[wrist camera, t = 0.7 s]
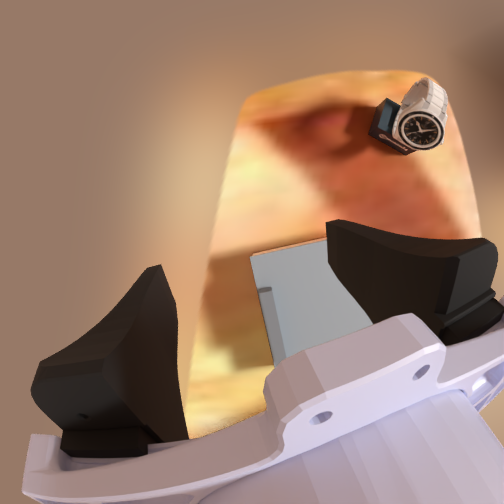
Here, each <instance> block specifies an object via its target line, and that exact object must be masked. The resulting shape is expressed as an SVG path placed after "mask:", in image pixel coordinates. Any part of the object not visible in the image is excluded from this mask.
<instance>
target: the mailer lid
mask: <svg viewBox="0 0 504 504" xmlns="http://www.w3.org/2000/svg"><path fill="white" fill-rule="evenodd" d="M250 261H251V265H252V270H253V274H254V279H255V283H256V287H257V292H258V296H259V301H260V305H261V309H262V314H263V318H264V323H265V327H266V331H267V336H268V340H269V345H270V349H271V353H272V358H273V362H274V366H275V368H276V367H277V366H278V364H279V363H280V362H281V361H282V360H284V359H286V358H288V357H290V356H292V355H294V354H296V353H298V352H300V351H302V350H305V349H308V348H311V347H314V346H317V345H320V344H323V343H326V342H329V341H331V340H334V339H337V338H340V337H343V336H345V335H348V334H351V333H353V332H356V331H358V330H361V329H364V328H366V327H369V326H371V325H373V323H372V322H371V320H370V318H369V317H368V316H367V314H366V313H365V311H364V310H363V309H362V308H361V307H360V305H359V304H358V303H357V302H356V300H355V299H354V298H353V297H352V296H351V294H350V293H349V292H348V291H347V290H346V288H345V287H344V286H343V285H342V284H341V282H340V281H339V280H338V279H337V277H336V275H335V274H334V272H333V270H332V269H331V267H330V265H329V264H328V254H327V239H326V240H322V241H317V242H313V243H308V244H304V245H299V246H295V247H290V248H286V249H281V250H277V251H272V252H268V253H263V254H259V255H254V256H250Z"/></svg>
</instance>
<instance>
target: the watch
mask: <svg viewBox="0 0 504 504" xmlns="http://www.w3.org/2000/svg"><path fill="white" fill-rule="evenodd" d="M447 99H448V97H447V93H446V91H445V90H444V89H443V88H441V87H440V86H439V85H437V84H436V83H434V82H433V81H431V80H430V79H428V78H426V77H425V78H422V79H421V80H419V81H418V82H415V84H414V85H413V86H412V87H411V89H410V90H409V91H408V93H407V94H405V96H404V99H403V100H402V102H401V103H402V105H401V106H400V105H398V104H397V103H395V102H393V101H391V100H390V99H388V98H386V99H385V100H384V101H383V102H382V103H381V104H379V105H378V106H377V109H376V112H375V115H374V118H373V121H372V124H371V127H370V130H369V133H368V135H370V136H372V137H374V138H376V139H378V140H379V141H381V142H383V143H385V144H387V145H388V146H390V147H392V148H394V149H396V150H397V151H399V152H401V153H402V154H404V155H408V154H410V153H412V152H415V151H418V150H430V149H433V148H435V147H437V146H438V145H439V144H440V145H442V144H443V142H444V139H443V138H444V134H445V131H444V129H445V125H446V121H447V114H446V110H447V104H448V100H447Z"/></svg>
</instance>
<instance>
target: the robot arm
mask: <svg viewBox="0 0 504 504" xmlns="http://www.w3.org/2000/svg"><path fill="white" fill-rule="evenodd" d="M326 235H327V254H328V264H329V265H330V267H331V269H332V270H333V272H334V274H335V275H336V277H337V279H338V280H339V281H340V282H341V284H342V285H343V286H344V287H345V288H346V290H347V291H348V292H349V293H350V294H351V296H352V297H353V298H354V299H355V300H356V302H357V303H358V304H359V305H360V307H361V308H362V309H363V310H364V311H365V313H366V314H367V316H368V317H369V318H370V320H371V322H372V323H373V325H371V326H369V327H366V328H364V329H361V330H358V331H356V332H353V333H351V334H348V335H345V336H343V337H340V338H337V339H334V340H331V341H329V342H326V343H323V344H320V345H317V346H314V347H311V348H308V349H305V350H302V351H300V352H298V353H296V354H294V355H292V356H290V357H288V358H286V359H284V360H282V361H281V362H280V363H279V364H278V366H277V367H276V368H275V369H274V370H273V371H272V372H271V373H270V374H269V375H268V376H267V377H266V379H265V384H264V389H263V394H264V397H265V401H266V409H267V410H265V411H263V412H261V413H259V414H257V415H254V416H252V417H250V418H248V419H245V420H243V421H241V422H238V423H236V424H234V425H231V426H229V427H226V428H224V429H221V430H219V431H216V432H214V433H211V434H209V435H206V436H203V437H201V438H195V439H189V436H188V432H187V427H186V422H185V417H184V412H183V407H182V401H181V395H180V389H179V381H178V370H177V344H178V318H177V309H176V302H175V300H174V297H173V295H172V292H171V290H170V287H169V284H168V282H167V279H166V276H165V274H164V271H163V269H162V266H161V265H156V266H152V267H149V268H147V269H146V270H145V271H144V272H143V273H142V274H141V276H140V277H139V278H138V280H137V281H136V282H135V283H134V284H133V286H132V287H131V288H130V290H129V291H128V292H127V293H126V295H125V296H124V297H123V298H122V299H121V300H120V302H119V303H118V304H117V305H116V306H115V307H114V308H113V309H112V311H110V313H109V314H108V315H106V316H105V317H104V318H103V319H102V320H101V321H100V322H99V323H98V324H97V325H96V326H94V327H93V328H92V329H91V330H89V331H88V332H87V333H86V334H84V335H83V336H82V337H81V338H79V339H78V340H77V341H75V342H73V343H72V344H70V345H69V346H67V347H66V348H64V349H62V350H61V351H59V352H57V353H55V354H54V355H52V356H50V357H48V358H46V359H44V360H42V361H40V363H39V366H38V369H37V371H36V375H35V377H34V381H33V383H32V386H31V395H32V397H33V399H34V401H35V403H36V404H37V405H38V407H39V408H40V409H41V410H42V411H43V412H44V413H45V414H46V415H47V416H48V417H49V418H50V419H51V420H52V421H53V422H55V423H56V424H57V425H58V426H59V427H60V428H61V429H62V430H63V434H62V438H60V437H58V436H55V435H48V434H31V438H30V442H29V447H28V453H27V458H26V464H25V470H24V476H23V484H22V492H23V494H25V495H27V496H29V497H30V498H32V499H34V500H36V501H38V502H40V503H42V504H504V448H503V446H502V445H501V443H500V442H499V440H498V439H497V437H496V436H495V435H494V433H493V432H492V430H491V429H490V428H489V426H488V425H487V424H486V422H485V421H484V419H483V418H482V417H481V415H480V414H479V412H480V411H481V410H482V409H483V408H484V407H485V406H486V405H487V404H488V403H490V402H491V401H492V400H493V399H494V398H495V397H496V396H497V395H498V394H499V393H500V392H501V391H502V390H503V389H504V296H503V297H502V298H501V299H500V301H499V302H498V301H497V300H496V299H495V298H493V297H495V294H496V293H495V291H494V290H493V289H491V288H490V287H491V284H492V281H493V278H494V274H495V270H496V267H497V262H498V252H497V247H496V246H495V245H494V244H493V243H492V242H490V241H488V240H487V239H485V238H472V239H459V240H444V239H428V238H418V237H412V236H405V235H400V234H395V233H391V232H387V231H383V230H379V229H375V228H372V227H368V226H365V225H361V224H358V223H354V222H350V221H346V220H339V219H338V220H333V221H329V222H326Z"/></svg>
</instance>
